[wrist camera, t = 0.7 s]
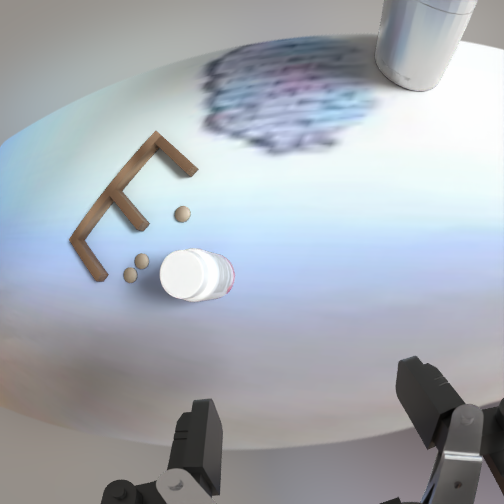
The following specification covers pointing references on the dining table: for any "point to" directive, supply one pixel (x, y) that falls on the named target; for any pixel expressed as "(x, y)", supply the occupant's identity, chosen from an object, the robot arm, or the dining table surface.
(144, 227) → the slot rack
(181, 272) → the pill bottle
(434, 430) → the robot arm
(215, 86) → the dining table surface
